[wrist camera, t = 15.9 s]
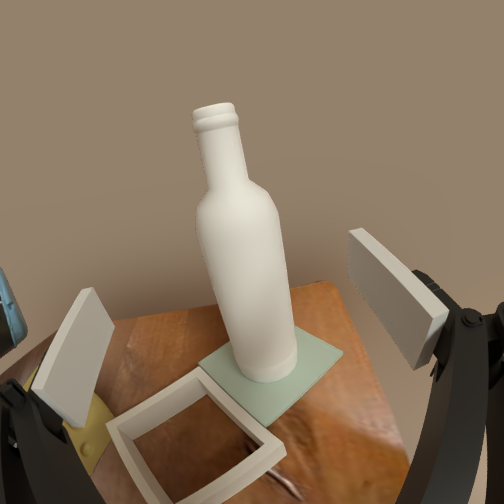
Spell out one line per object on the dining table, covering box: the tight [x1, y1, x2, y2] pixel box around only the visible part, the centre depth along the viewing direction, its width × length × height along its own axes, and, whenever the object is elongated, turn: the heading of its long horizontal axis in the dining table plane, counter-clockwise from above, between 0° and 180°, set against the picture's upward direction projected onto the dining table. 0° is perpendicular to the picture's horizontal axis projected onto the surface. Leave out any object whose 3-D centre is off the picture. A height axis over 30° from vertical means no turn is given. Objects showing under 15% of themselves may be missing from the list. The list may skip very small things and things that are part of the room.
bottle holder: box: [105, 366, 287, 504], centre depth 23 cm, size 14×14×4 cm
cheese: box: [23, 367, 115, 476], centre depth 23 cm, size 10×11×10 cm
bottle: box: [192, 103, 298, 383], centre depth 27 cm, size 8×8×30 cm
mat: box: [198, 325, 343, 428], centre depth 34 cm, size 14×14×1 cm
